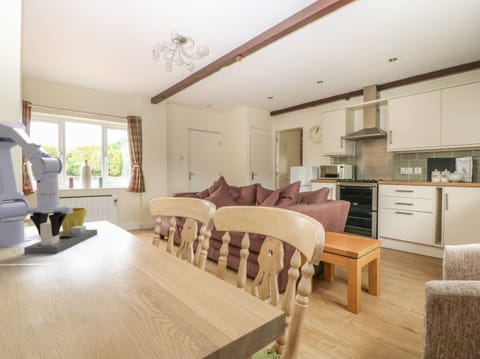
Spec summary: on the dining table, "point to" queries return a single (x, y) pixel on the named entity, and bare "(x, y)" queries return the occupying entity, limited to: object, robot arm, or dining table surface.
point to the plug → (47, 235)
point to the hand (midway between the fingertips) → (49, 235)
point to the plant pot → (74, 219)
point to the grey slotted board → (60, 243)
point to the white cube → (78, 229)
